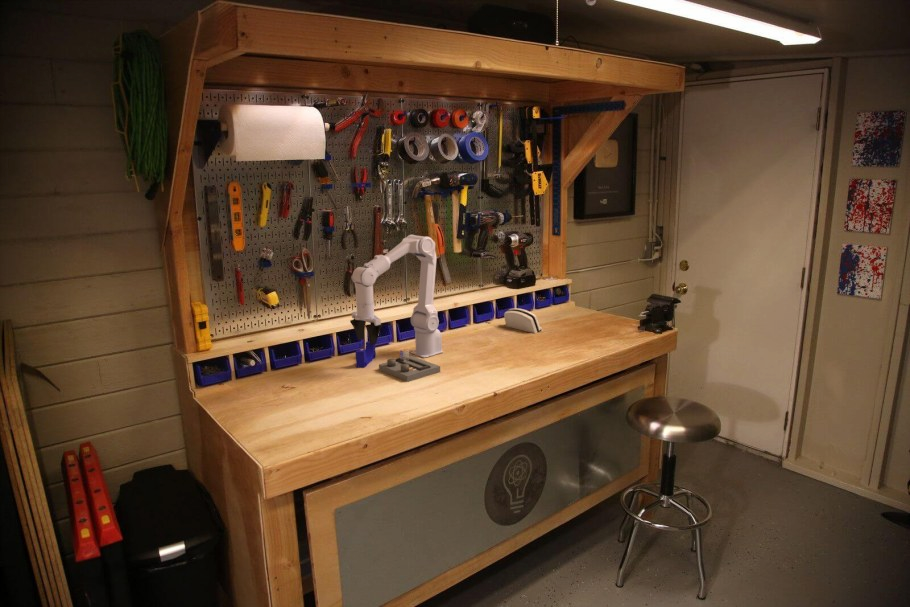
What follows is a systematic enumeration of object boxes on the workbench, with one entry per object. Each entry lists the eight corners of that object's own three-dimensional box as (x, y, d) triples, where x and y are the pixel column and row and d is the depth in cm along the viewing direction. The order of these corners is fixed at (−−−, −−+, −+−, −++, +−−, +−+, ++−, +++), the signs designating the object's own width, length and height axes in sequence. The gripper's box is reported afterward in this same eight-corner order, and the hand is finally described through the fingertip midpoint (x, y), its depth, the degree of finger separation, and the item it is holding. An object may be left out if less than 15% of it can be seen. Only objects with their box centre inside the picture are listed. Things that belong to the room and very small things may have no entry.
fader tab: (406, 359, 214) (405, 348, 213) (409, 360, 212) (409, 349, 211) (400, 361, 212) (399, 349, 211) (403, 362, 211) (403, 351, 210)
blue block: (363, 356, 225) (363, 341, 223) (375, 357, 224) (374, 341, 222) (352, 367, 213) (351, 351, 212) (364, 368, 212) (363, 351, 211)
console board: (411, 360, 219) (410, 350, 218) (440, 371, 207) (440, 360, 206) (379, 369, 210) (378, 358, 209) (407, 381, 198) (407, 370, 197)
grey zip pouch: (543, 331, 255) (538, 310, 251) (536, 336, 253) (531, 316, 248) (513, 323, 267) (508, 304, 263) (506, 329, 264) (501, 309, 260)
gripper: (343, 301, 208) (345, 339, 211) (367, 308, 197) (369, 348, 200) (360, 298, 212) (362, 335, 215) (385, 304, 202) (386, 344, 205)
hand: (367, 341), depth 208 cm, fingers open, 7 cm apart
